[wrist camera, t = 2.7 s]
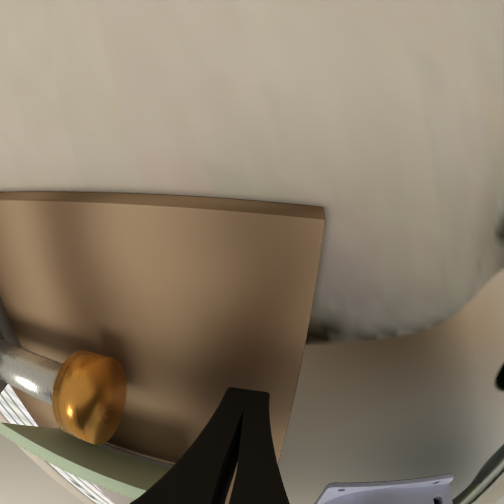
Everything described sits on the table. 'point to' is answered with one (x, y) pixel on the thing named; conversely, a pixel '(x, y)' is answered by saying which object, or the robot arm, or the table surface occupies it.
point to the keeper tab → (90, 459)
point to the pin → (71, 388)
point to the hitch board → (163, 301)
